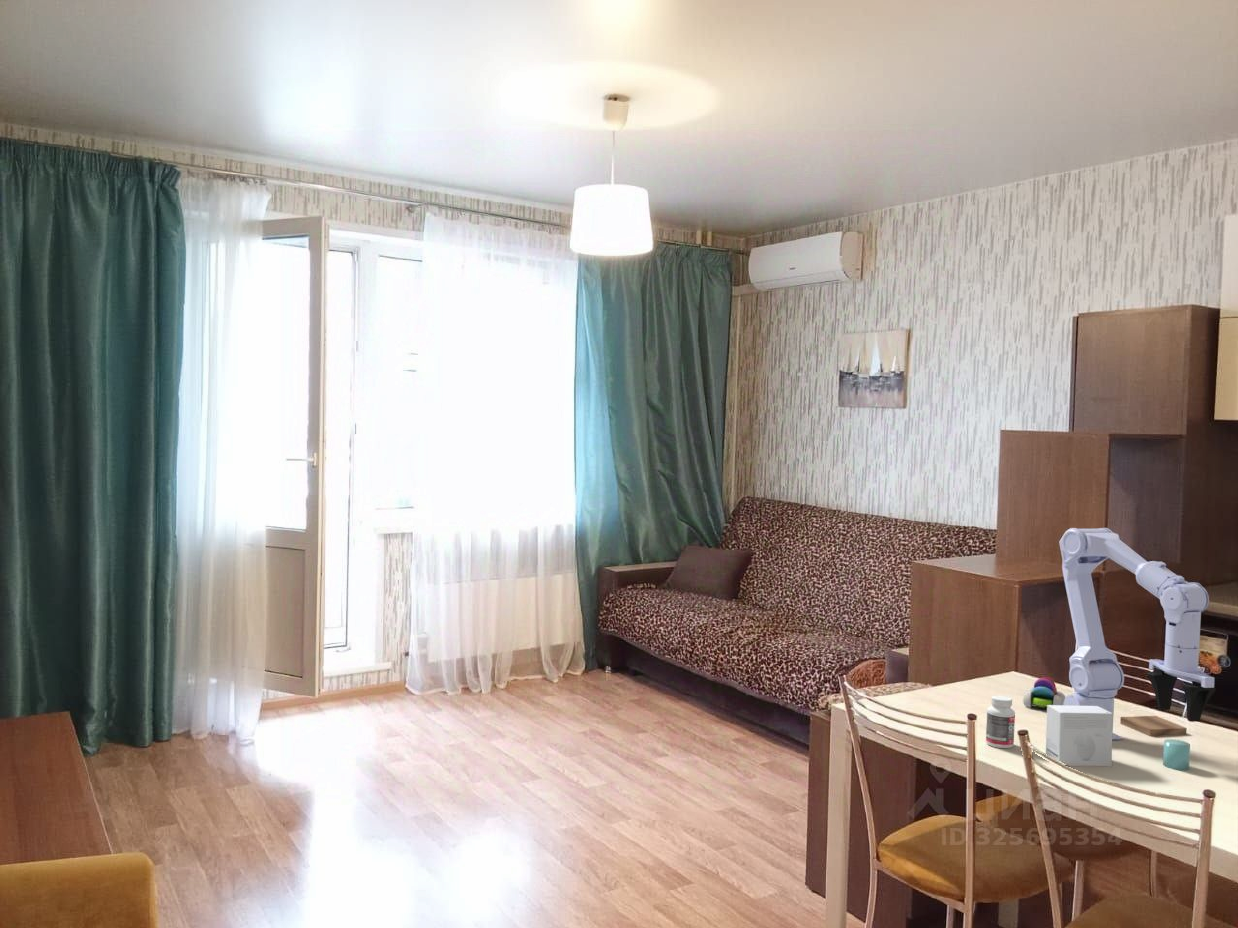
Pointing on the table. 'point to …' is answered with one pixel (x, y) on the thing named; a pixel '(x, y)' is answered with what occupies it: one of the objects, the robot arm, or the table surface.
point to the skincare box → (1079, 735)
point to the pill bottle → (1000, 723)
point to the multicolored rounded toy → (1043, 694)
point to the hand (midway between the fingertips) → (1178, 715)
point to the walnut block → (1153, 725)
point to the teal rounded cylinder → (1176, 754)
